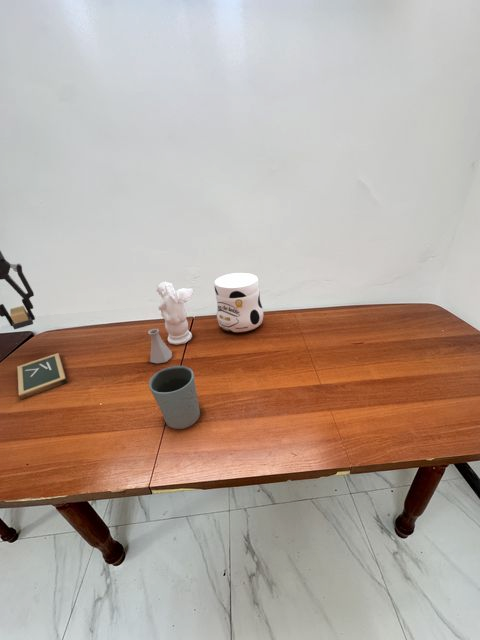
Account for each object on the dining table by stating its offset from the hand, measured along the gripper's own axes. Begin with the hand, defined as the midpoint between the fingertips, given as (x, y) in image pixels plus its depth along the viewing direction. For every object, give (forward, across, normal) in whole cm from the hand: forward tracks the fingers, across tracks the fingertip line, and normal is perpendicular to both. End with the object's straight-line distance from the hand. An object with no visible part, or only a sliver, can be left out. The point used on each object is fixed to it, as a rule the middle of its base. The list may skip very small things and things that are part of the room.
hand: (23, 321), depth 95 cm
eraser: (0, 0, 0) cm, 0 cm away
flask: (+14, +32, -30) cm, 46 cm away
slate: (+14, -1, -14) cm, 20 cm away
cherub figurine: (+14, +43, -24) cm, 51 cm away
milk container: (+14, +63, -30) cm, 71 cm away
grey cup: (+14, +26, -59) cm, 66 cm away
